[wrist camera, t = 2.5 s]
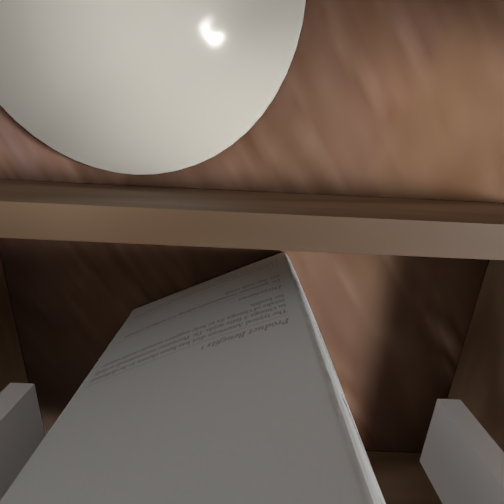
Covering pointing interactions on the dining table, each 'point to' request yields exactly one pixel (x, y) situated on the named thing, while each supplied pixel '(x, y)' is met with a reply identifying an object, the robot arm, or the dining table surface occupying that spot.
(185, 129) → the saucer
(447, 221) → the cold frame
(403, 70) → the dining table surface
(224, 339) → the supplement box
